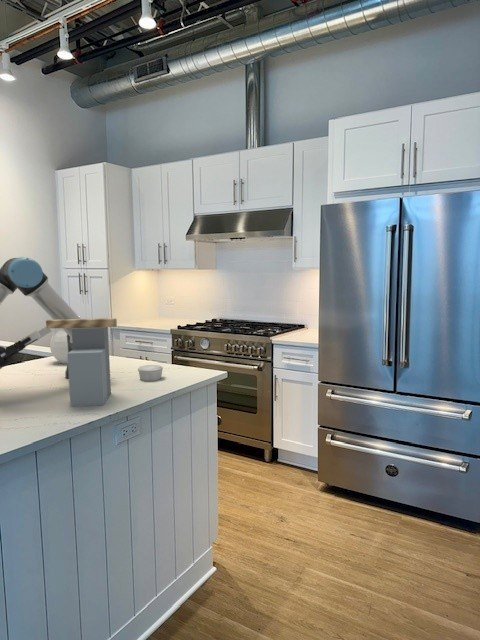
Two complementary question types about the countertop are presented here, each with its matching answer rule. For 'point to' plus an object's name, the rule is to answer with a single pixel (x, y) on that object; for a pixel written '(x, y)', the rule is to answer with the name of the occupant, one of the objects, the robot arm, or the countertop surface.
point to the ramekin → (150, 372)
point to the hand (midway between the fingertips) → (44, 330)
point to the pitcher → (59, 345)
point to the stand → (89, 367)
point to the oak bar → (81, 323)
